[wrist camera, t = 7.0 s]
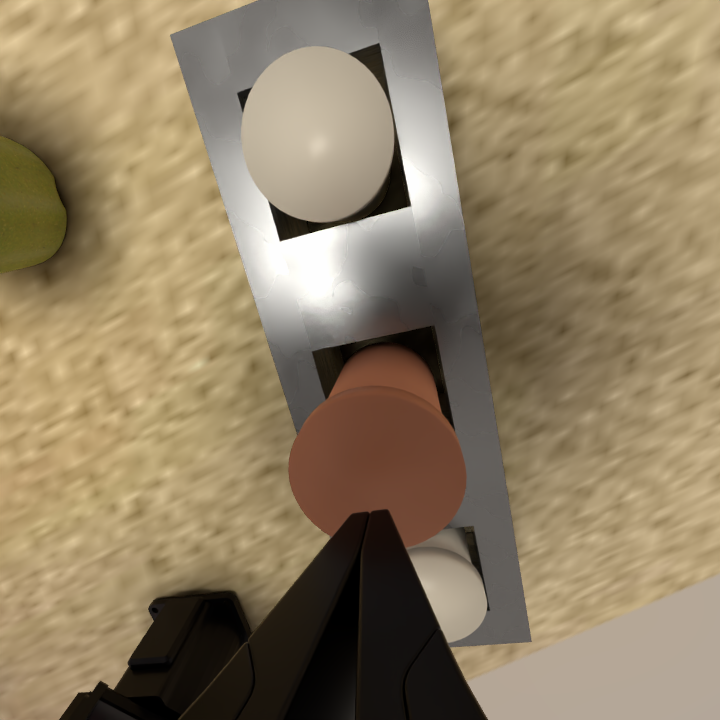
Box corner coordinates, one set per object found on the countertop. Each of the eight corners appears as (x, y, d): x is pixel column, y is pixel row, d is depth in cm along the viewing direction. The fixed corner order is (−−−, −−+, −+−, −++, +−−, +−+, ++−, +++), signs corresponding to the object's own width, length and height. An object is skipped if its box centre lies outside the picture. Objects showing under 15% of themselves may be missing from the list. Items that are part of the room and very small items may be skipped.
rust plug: (451, 428, 16) (479, 540, 10) (346, 446, 17) (315, 559, 11) (431, 323, 15) (449, 379, 9) (318, 347, 16) (266, 413, 10)
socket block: (504, 558, 23) (531, 641, 18) (374, 571, 24) (367, 652, 19) (413, 30, 16) (417, -63, 11) (235, 92, 17) (170, 35, 12)
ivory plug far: (470, 533, 22) (494, 640, 16) (393, 542, 23) (389, 647, 17) (456, 465, 21) (477, 554, 15) (375, 477, 22) (365, 565, 16)
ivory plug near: (406, 213, 18) (408, 199, 12) (312, 239, 18) (267, 237, 12) (384, 101, 16) (373, 21, 10) (284, 134, 17) (220, 77, 11)
